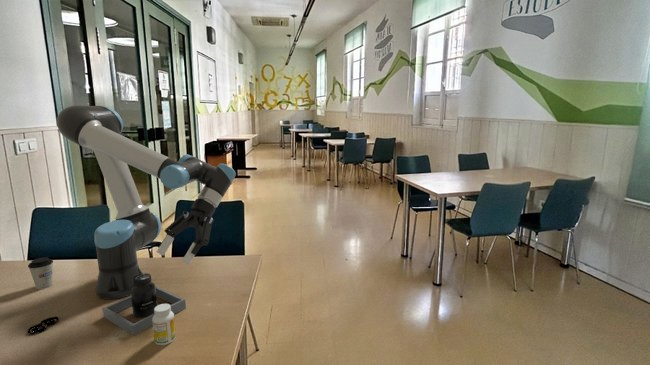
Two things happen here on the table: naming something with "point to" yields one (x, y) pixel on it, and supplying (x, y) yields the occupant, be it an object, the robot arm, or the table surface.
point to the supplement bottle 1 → (143, 296)
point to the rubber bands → (48, 324)
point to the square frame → (145, 323)
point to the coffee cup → (41, 272)
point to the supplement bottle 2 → (163, 324)
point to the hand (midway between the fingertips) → (172, 258)
